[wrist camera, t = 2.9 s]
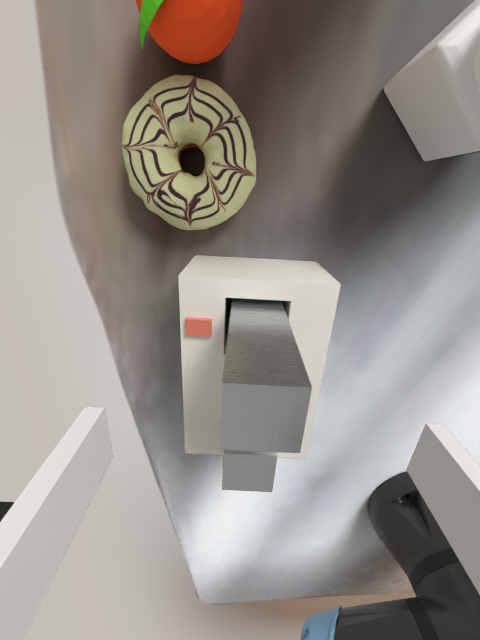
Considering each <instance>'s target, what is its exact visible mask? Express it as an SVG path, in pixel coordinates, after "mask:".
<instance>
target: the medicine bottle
mask: <svg viewBox="0 0 480 640" xmlns="http://www.w3.org/2000/svg"><path fill="white" fill-rule="evenodd" d="M384 92H385V94H386V96H387V97H388V99H389V101H390V103H391V105H392V106H393V108H394V110H395V112H396V113H397V115H398V117H399V119H400V120H401V122H402V124H403V126H404V127H405V129H406V131H407V133H408V134H409V136H410V138H411V140H412V141H413V143H414V145H415V147H416V149H417V150H418V152H419V154H420V156H421V157H422V159H423V160H424V161H426V162H428V161H433V160H439V159H444V158H449V157H454V156H460V155H465V154H470V153H475V152H480V0H475V1H474V2H473V3H472V4H470V5H469V6H468V7H467V8H466V9H465V10H464V11H462V12H461V13H460V14H459V15H458V16H457V17H456V18H455V19H454V20H453V21H452V22H451V23H450V24H449V25H448V26H447V27H446V28H444V29H443V30H442V31H441V32H440V33H439V34H438V35H437V36H436V37H435V38H434V39H433V40H432V41H431V42H430V43H429V44H428V45H427V46H425V47H424V48H423V49H422V50H421V51H420V52H419V53H418V54H417V55H416V56H415V57H414V58H413V59H412V60H411V61H410V62H409V63H408V64H406V65H405V66H404V67H403V68H402V69H401V70H400V71H399V72H398V73H397V74H396V75H395V76H394V77H393V78H392V79H391V80H390V81H389V82H387V83H386V85H385V87H384Z"/></svg>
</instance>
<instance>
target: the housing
mask: <svg viewBox="0 0 480 640" xmlns="http://www.w3.org/2000/svg"><path fill="white" fill-rule="evenodd" d="M178 278H179V304H180V331H181V358H182V385H183V412H184V438H185V453H188V454H208V455H224V450H223V449H220V429H221V396H222V378H223V370H224V362H225V354H226V346H227V338H228V330H229V321H230V317H229V298H243V299H262V300H281V301H282V303H283V306H284V309H285V312H286V314H287V317H288V320H289V323H290V326H291V329H292V332H293V334H294V337H295V340H296V343H297V346H298V349H299V351H300V354H301V357H302V360H303V363H304V366H305V368H306V371H307V374H308V377H309V380H310V383H311V386H312V392H311V397H310V402H309V408H308V413H307V419H306V424H305V429H304V435H303V440H302V445H301V451H300V453H282V452H277V458H288V459H306V456H307V451H308V446H309V441H310V436H311V431H312V426H313V421H314V416H315V411H316V406H317V401H318V396H319V391H320V386H321V381H322V376H323V371H324V366H325V361H326V356H327V351H328V346H329V341H330V336H331V331H332V326H333V321H334V316H335V311H336V306H337V301H338V296H339V291H340V286H341V284H340V283H339V282H338V281H337V280H336V279H334V278H333V277H332V276H331V275H330V274H329V273H328V272H327V271H326V270H325V269H324V268H322V267H321V266H320V265H319V264H318V263H317V262H315V261H296V260H278V259H259V258H241V257H222V256H204V255H195V257H194V258H193V259H192V260H191V261H190V263H189V264H188V265H187V266H186V267H185V268H184V270H183V271H182V272H181V273H180V274H179V276H178Z"/></svg>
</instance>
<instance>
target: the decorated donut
mask: <svg viewBox="0 0 480 640" xmlns="http://www.w3.org/2000/svg"><path fill="white" fill-rule="evenodd" d="M189 147H195V148H198V149H200V150H201V151H203V153H204V156H205V167H204V170H203V172H202V174H201V175H199V176H197V177H195V176H192V175H191V174H189V173H184V172H183V170H182V168H181V165H180V162H179V158H180V154H181V153H182V151H183V150H184V149H186V148H189ZM122 152H123V159H124V163H125V167H126V170H127V173H128V176H129V182H130V186H131V188H132V189H133V191H134V192H135V194H137V195H138V196H139V197H141V198H142V199H143V201H144V203H145V206H146V208H147V209H149V210H150V211H152V212H154V213H155V214H157V215H159V216H161V217H162V218H163V219H164V220H165V221H167V222H168V223H169V224H171V225H173V226H175V227H177V228H179V229H183V230H199V229H207V228H209V227H212V226H215V225H218V224H220V223H222V222H224V221H226V220H227V219H228V218H230V217H231V216H232V215H234V214H235V213H236V212H238V210H239V209H240V208H241V207H242V206H243V204H244V203H245V201H246V199H247V197H248V195H249V194H250V192H251V190H252V188H253V187H254V185H255V183H256V155H255V150H254V146H253V140H252V137H251V132H250V129H249V127H248V125H247V122H246V120H245V118H244V116H243V115H242V113H241V112H240V110H239V108H238V107H237V105H236V104H235V102H234V101H233V99H232V98H231V97H230V96H229V95H228V94H227V93H225V92H224V91H223V90H222V89H221V88H220V87H219V86H218V85H216V84H215V83H213V82H211V81H209V80H204V79H200V78H197V77H194V76H190V75H174V76H170V77H168V78H166V79H164V80H162V81H160V82H158V83H156V84H154V85H153V86H152V87H151V88H150V89H149V90H148V91H147V92H146V93H145V94H144V96H143V97H142V98H141V99H140V100H139V101H138V102H137V103H136V104H135V105H134V106H133V108H132V109H131V110H130V112H129V114H128V116H127V118H126V120H125V123H124V126H123V134H122Z"/></svg>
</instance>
